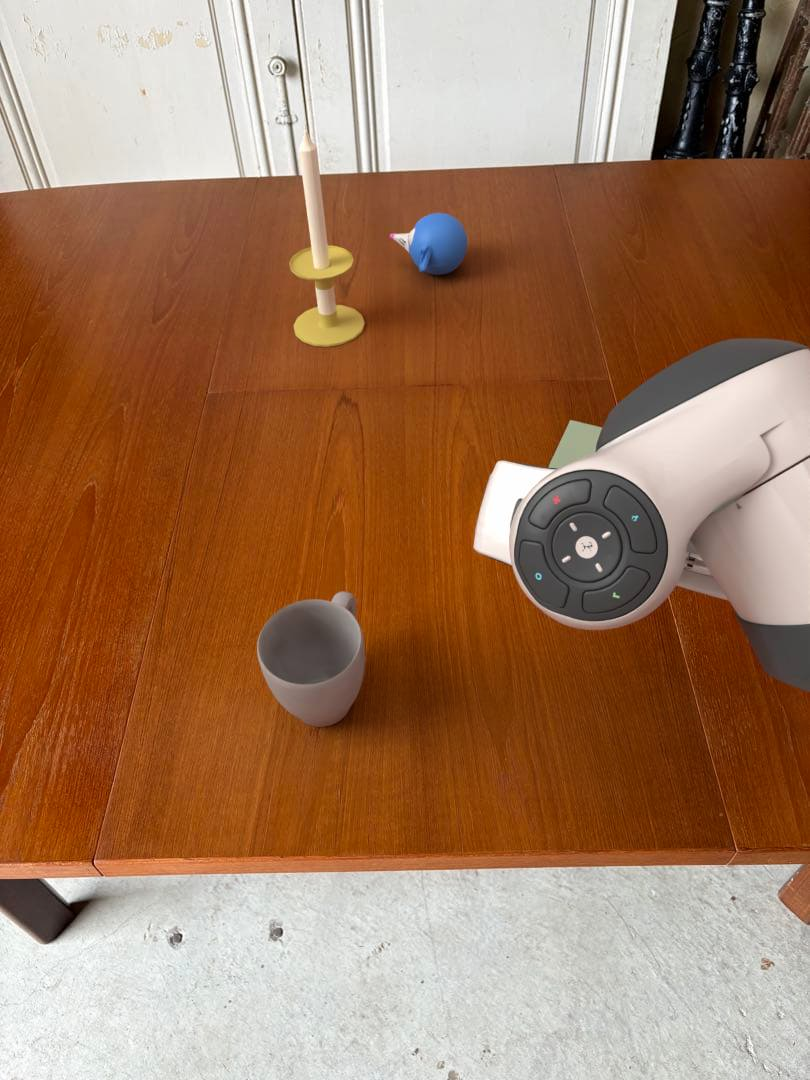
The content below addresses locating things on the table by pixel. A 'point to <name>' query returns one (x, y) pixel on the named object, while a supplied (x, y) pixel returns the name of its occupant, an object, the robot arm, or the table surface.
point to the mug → (314, 658)
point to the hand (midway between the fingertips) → (623, 537)
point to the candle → (322, 267)
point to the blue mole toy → (435, 243)
